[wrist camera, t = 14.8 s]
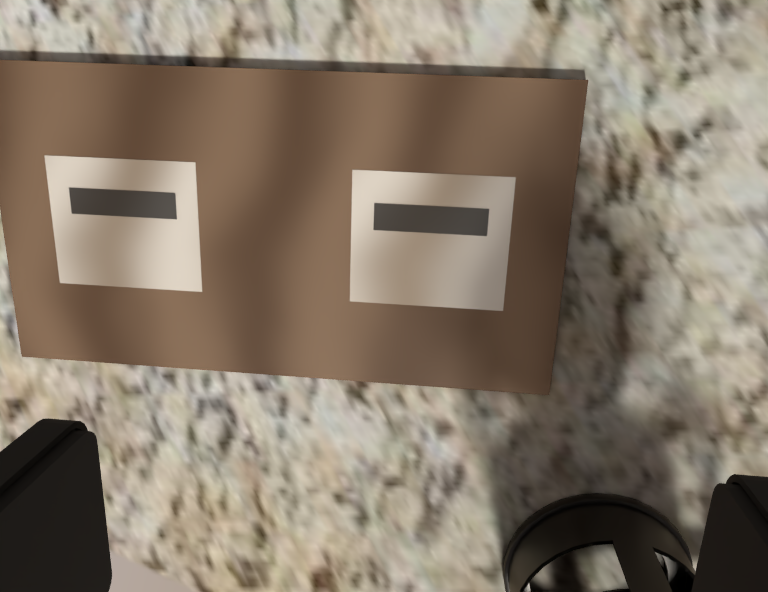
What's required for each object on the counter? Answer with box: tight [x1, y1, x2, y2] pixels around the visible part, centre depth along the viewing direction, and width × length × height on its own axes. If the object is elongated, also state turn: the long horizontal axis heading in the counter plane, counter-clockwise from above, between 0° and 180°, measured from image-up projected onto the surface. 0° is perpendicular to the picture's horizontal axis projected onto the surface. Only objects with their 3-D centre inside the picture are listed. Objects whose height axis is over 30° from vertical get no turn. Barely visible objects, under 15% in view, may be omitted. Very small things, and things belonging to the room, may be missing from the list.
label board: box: [0, 60, 588, 395], centre depth 29 cm, size 26×14×1 cm, turn 88°
